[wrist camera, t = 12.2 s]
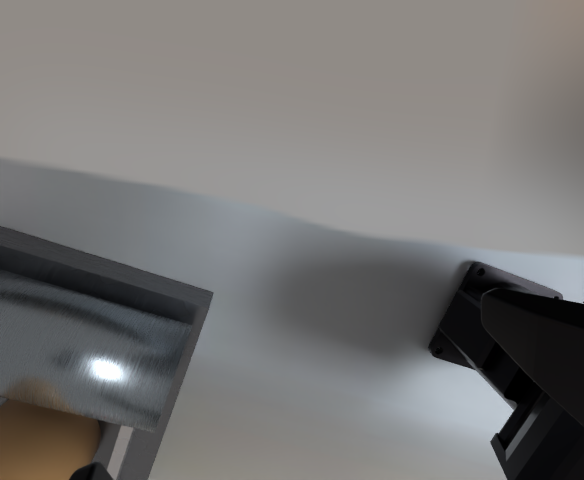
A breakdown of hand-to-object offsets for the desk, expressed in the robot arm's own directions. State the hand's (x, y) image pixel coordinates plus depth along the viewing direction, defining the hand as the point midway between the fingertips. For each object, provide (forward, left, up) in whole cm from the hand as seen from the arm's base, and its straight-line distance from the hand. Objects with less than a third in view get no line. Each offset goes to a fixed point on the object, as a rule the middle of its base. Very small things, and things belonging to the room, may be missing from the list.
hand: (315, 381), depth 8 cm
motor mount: (+8, +12, -13) cm, 19 cm away
